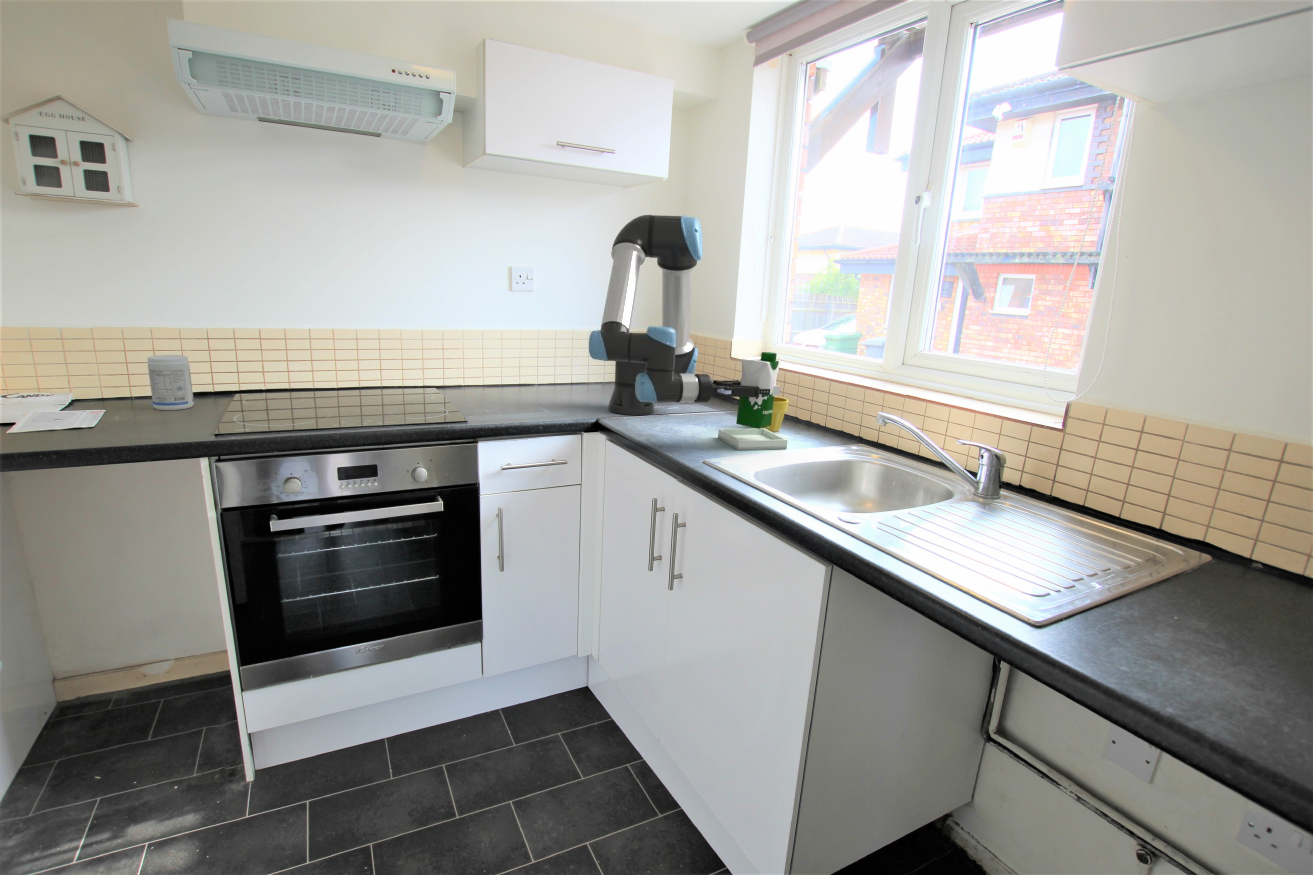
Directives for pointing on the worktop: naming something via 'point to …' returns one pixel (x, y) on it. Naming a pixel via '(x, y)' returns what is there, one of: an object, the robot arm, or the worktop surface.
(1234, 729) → the worktop surface
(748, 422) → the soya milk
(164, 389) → the supplement tub
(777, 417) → the plant pot
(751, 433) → the sage tray
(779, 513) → the worktop surface
